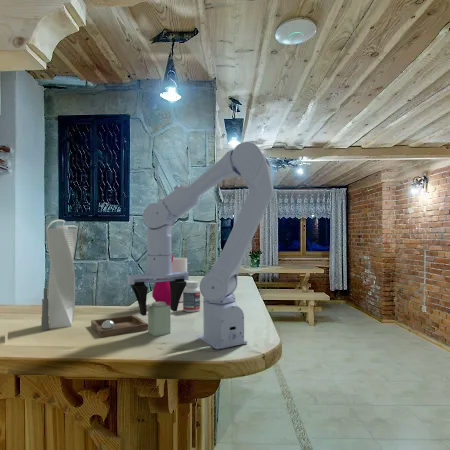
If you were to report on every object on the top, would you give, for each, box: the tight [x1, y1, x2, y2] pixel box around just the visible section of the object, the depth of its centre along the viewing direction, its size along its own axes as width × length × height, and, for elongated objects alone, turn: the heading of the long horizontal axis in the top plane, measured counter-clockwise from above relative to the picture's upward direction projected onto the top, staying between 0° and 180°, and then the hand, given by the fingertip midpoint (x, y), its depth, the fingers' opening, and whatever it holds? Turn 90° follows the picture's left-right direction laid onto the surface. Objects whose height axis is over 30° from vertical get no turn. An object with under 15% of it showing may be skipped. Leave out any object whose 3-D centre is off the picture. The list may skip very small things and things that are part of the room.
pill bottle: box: [182, 280, 201, 313], centre depth 108 cm, size 5×5×9 cm
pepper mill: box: [151, 252, 174, 310], centre depth 111 cm, size 7×7×20 cm
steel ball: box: [102, 320, 115, 330], centre depth 82 cm, size 3×3×3 cm
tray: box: [90, 314, 148, 338], centre depth 86 cm, size 11×11×2 cm
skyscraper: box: [40, 219, 79, 331], centre depth 89 cm, size 8×8×28 cm
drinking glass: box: [171, 257, 188, 303], centre depth 121 cm, size 7×7×15 cm
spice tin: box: [147, 301, 171, 337], centre depth 82 cm, size 4×4×8 cm
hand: (158, 312), depth 82 cm, fingers open, 7 cm apart
